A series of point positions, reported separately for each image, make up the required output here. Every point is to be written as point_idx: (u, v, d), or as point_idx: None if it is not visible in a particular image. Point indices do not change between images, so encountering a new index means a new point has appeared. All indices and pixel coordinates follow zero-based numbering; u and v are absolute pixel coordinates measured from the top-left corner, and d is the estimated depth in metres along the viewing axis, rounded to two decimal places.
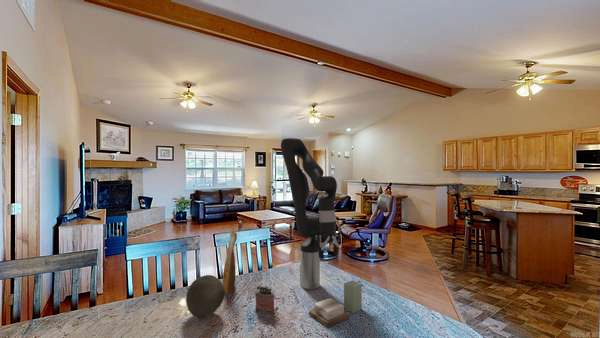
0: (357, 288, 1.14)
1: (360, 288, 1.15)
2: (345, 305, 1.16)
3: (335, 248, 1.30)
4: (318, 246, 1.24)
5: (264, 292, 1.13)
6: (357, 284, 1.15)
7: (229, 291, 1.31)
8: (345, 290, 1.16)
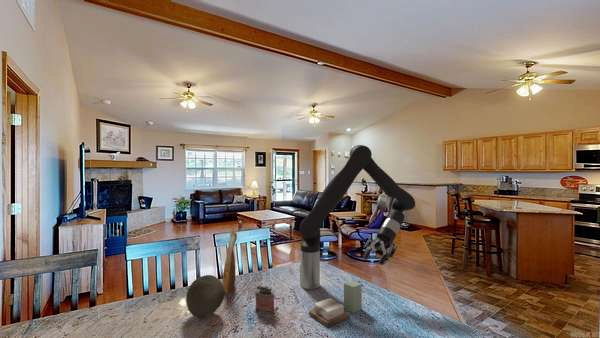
0: (357, 288, 1.14)
1: (360, 288, 1.15)
2: (345, 305, 1.16)
3: (369, 253, 1.28)
4: None
5: (264, 292, 1.13)
6: (357, 284, 1.15)
7: (229, 291, 1.31)
8: (345, 290, 1.16)
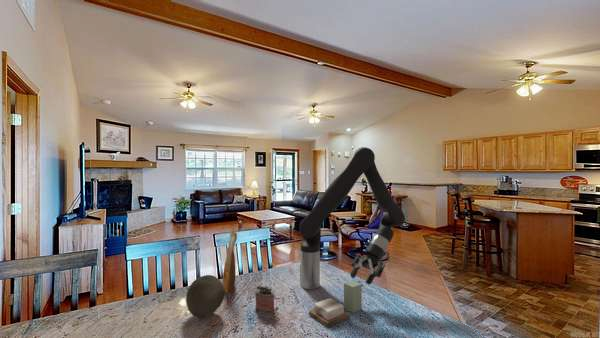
0: (357, 288, 1.14)
1: (360, 288, 1.15)
2: (345, 305, 1.16)
3: (356, 271, 1.23)
4: None
5: (264, 292, 1.13)
6: (357, 284, 1.15)
7: (229, 291, 1.31)
8: (345, 290, 1.16)
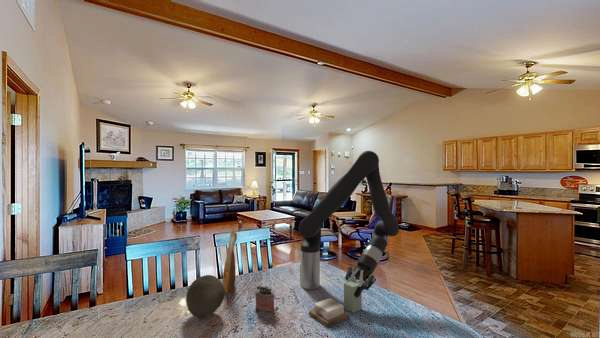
0: None
1: None
2: (345, 305, 1.16)
3: None
4: None
5: (264, 292, 1.13)
6: (357, 284, 1.15)
7: (229, 291, 1.31)
8: (345, 290, 1.16)
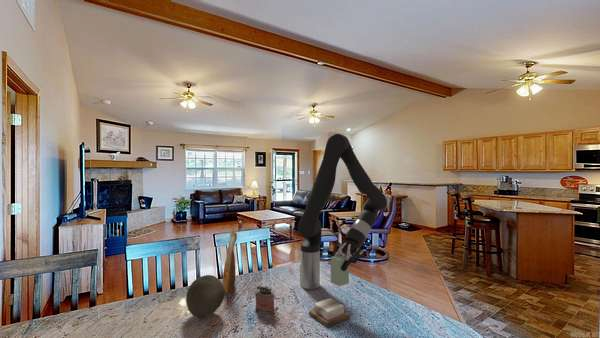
0: None
1: None
2: (332, 279, 1.13)
3: None
4: None
5: (264, 292, 1.13)
6: (344, 258, 1.12)
7: (229, 291, 1.31)
8: (332, 264, 1.13)
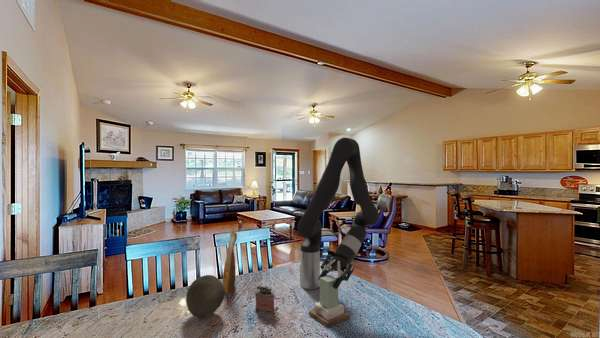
0: None
1: None
2: (321, 301, 1.10)
3: (325, 274, 1.14)
4: None
5: (264, 292, 1.13)
6: (333, 279, 1.09)
7: (229, 291, 1.31)
8: (321, 285, 1.10)
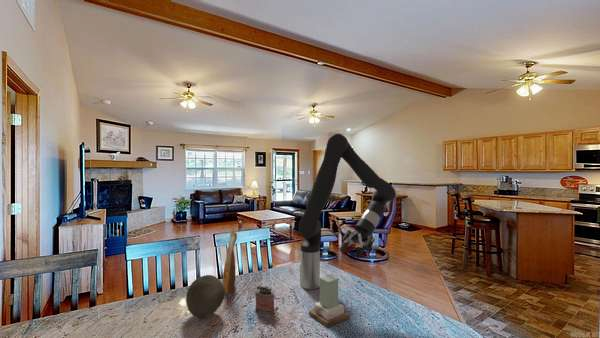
0: (333, 283, 1.08)
1: (336, 283, 1.09)
2: (321, 301, 1.10)
3: (346, 246, 1.21)
4: None
5: (264, 292, 1.13)
6: (333, 279, 1.09)
7: (229, 291, 1.31)
8: (321, 285, 1.10)
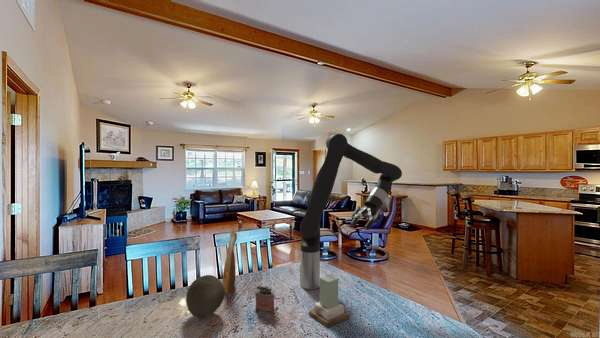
0: (333, 283, 1.08)
1: (336, 283, 1.09)
2: (321, 301, 1.10)
3: (356, 220, 1.32)
4: None
5: (264, 292, 1.13)
6: (333, 279, 1.09)
7: (229, 291, 1.31)
8: (321, 285, 1.10)
